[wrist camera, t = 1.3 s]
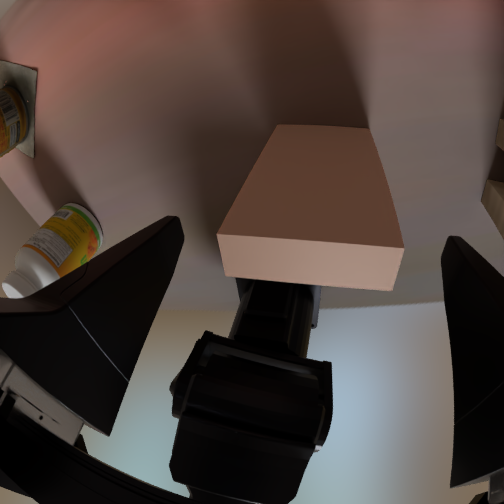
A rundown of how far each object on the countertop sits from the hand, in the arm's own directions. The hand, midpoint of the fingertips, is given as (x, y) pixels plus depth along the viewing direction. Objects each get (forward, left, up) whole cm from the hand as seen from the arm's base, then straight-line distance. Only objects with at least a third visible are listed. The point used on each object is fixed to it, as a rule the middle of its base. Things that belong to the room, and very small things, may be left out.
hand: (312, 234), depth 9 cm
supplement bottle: (-7, +21, -9) cm, 24 cm away
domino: (0, 0, -9) cm, 9 cm away
